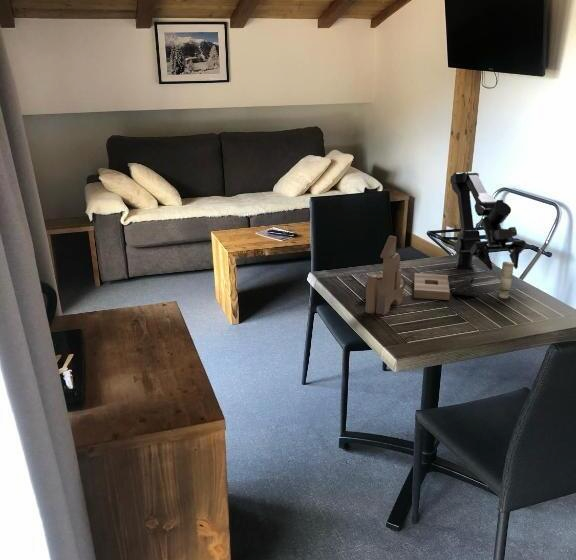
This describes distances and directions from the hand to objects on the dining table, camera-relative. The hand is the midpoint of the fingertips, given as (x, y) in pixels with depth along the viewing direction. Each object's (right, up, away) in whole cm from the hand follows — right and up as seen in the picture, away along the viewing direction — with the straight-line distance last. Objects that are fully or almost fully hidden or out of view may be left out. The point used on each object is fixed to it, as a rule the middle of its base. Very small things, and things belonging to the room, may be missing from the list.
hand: (504, 269), depth 201 cm
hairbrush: (-10, -7, +10) cm, 16 cm away
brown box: (-24, -7, +8) cm, 26 cm away
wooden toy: (-43, -13, -7) cm, 46 cm away
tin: (-41, -10, +2) cm, 43 cm away
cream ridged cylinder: (0, -10, +1) cm, 10 cm away
